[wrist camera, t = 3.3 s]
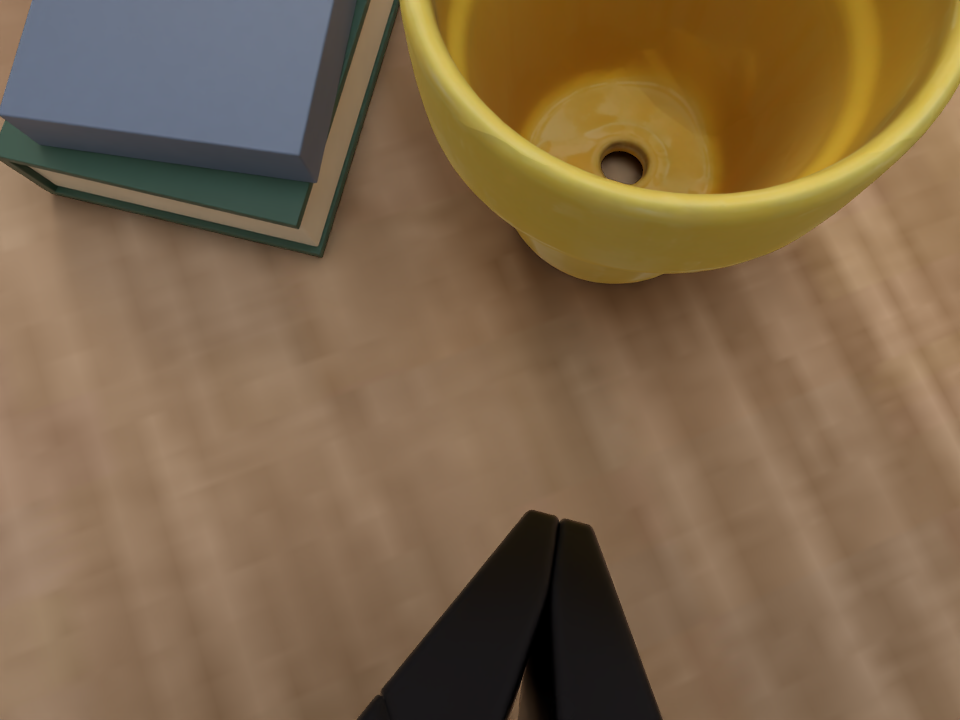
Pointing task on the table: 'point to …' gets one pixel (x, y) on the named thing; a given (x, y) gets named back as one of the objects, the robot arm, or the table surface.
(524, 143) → the flower pot
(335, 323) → the table surface
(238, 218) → the books
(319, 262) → the table surface
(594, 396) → the table surface
